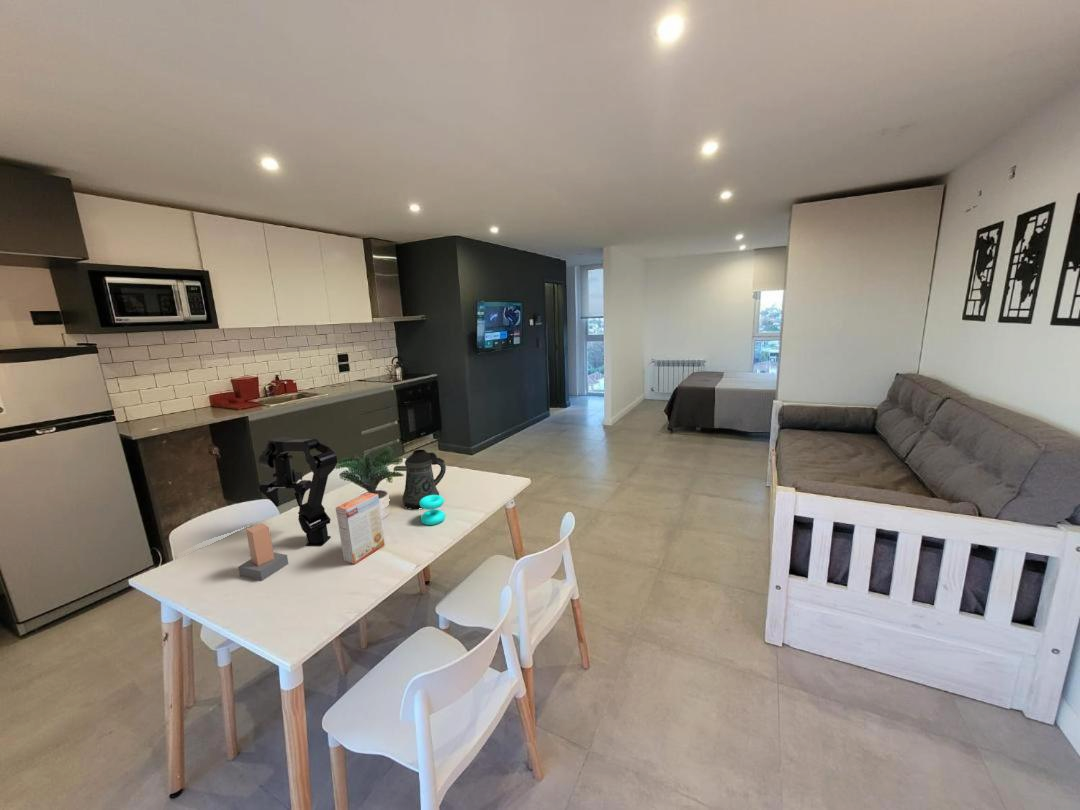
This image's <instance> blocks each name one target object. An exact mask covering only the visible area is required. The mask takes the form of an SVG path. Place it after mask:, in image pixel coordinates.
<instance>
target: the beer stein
mask: <svg viewBox="0 0 1080 810" xmlns="http://www.w3.org/2000/svg"><path fill="white" fill-rule="evenodd" d="M404 465H405V467H406V471H405V472H406V473H405V485H404V491H403V494H402V498H401V499H402V503H403V505H404V508H405V507H407V508H406V509H408V508H411V509H419V508H421V507H420V504H419V502H420V500H421V499H422V498H423V497H425V496H429V495H440V492H439V490H438V488H437V485H438V484H439V483H440V482H441V481H442V480H443V478H444V475H445V474H446V471H447V469H446V468H447V466H446V463H445V460H444V459H443V458H441V457H437V454H436V453H435V452H427V451H426V450H425V449H416V450H413V452H412V454H411V455H409V456H408V457H407V458H406V459H405V460H404ZM436 465H438V466H439V467H440V471H439V473H438V475H437V476H436V478H434V477H435V476H434V472H433V468H432V466H436ZM411 509H410V510H411Z"/></svg>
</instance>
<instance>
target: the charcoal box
mask: <svg viewBox="0 0 1080 810" xmlns="http://www.w3.org/2000/svg"><path fill="white" fill-rule="evenodd" d="M273 554H274V559H273V560H270V561H268V562H266V563H263V564H261V565H259V566H258V565H256V564H255V563H253V562H252V560H251V558H250V559H249V560H247V561H245V562H244V563H241V564H240V565H238V566H237V568H238V572H239V576H240V577H242V578H247V579H251V580H257V581H260V582H261V581H262V582H263V581H264V580H266V579H267V578H270V577H271V576H273V574H275V573H277V572H279V571H280V570H282V569H283V568H285V567H286V566H288V565H289V561H288V560H289V559H288V554H284V553H279V552H274V551H273Z"/></svg>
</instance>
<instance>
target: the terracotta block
mask: <svg viewBox="0 0 1080 810" xmlns="http://www.w3.org/2000/svg"><path fill="white" fill-rule="evenodd" d="M245 531H246V538H247V543H248V548H249V554H250V559H251V560H252V562H253V563H255V564H256V565H258V566H259V565H261V564H263V563H266V562H268V561H270V560H273V559H274V554H273V552H274V549H273V548H274V547H273V543H272V538H271V531H270V527H269V525H267V524H265V523H263V522H261V523H259V524H256V525H253V526H250V527H248V528H245Z"/></svg>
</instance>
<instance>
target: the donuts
mask: <svg viewBox="0 0 1080 810" xmlns="http://www.w3.org/2000/svg"><path fill="white" fill-rule="evenodd" d="M444 502H445V500H444V497H443V496H441V495H440V494H439V495H429V496H425V497H423V498H422V499H421V500H420V502H419V504H420V507H421V508H423V509H422V510H427V511H426V512H424V513H423V514H422V515H420V516H421V517H420V522H421V523H422V524H424V525H426V526H434V525H438V524H441V523H442V522H443V521H444V520H445V519H446V513H445V512H444V511H442V510H440V509H438V508H441V507H442V506H443V505H444Z"/></svg>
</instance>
